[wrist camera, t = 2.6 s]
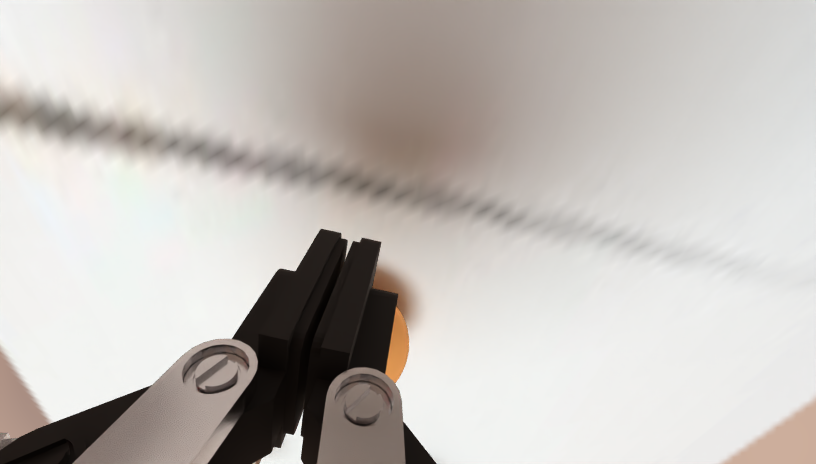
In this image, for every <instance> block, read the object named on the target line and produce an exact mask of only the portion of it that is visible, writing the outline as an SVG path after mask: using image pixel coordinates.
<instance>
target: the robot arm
mask: <svg viewBox="0 0 816 464" xmlns="http://www.w3.org/2000/svg"><path fill="white" fill-rule="evenodd" d="M347 242H348V241H347V240H346V239H341V233H338V232H334V231H329V230H325V229H321V230H320V231H319V233H318V234H317V236H316V238H315V239H314V241H313V243H312V244H311V246H310V248H309V249H308V251H307V253H306V255H305V256H304V258H303V260H302V261H301V263H300V265H299V266H298V268H297V270H296V271H290V270H286V269H279V270H278V271H277V272H276V273H275V275H274V276H273V278H272V279H271V281H270V282H269V284H268V285H267V287H266V288H265V290H264V291H263V293H262V294H261V296H260V297H259V299H258V300H257V302H256V303H255V305H254V306H253V308H252V309H251V311H250V312H249V314H248V315H247V317H246V318H245V320H244V321H243V323H242V324H241V326H240V327H239V329H238V330H237V332H236V333H235V335H234V336H233V338H232V339H215V340H211V341H207V342H204V343H202V344H199V345H197V346H195V347H193V348H191V349H190V350H189V351H188V352H186V353H185V354H184V355H182V356H181V357H180V358H179V359H178V360H177V361H176V362H175V363H174V364H173V365H172V366H171V367H170V368H169V369H168V370H167V371H166V372H165V373H164V374H163V375H162V376H161V377H160V378H159V379H158V380H157V381H156V382H155V383H154V384H153V385H151V386H149V387H146V388H143V389H141V390H138V391H135V392H133V393H130V394H127V395H125V396H122V397H120V398H117V399H114V400H112V401H109V402H106V403H104V404H101V405H99V406H96V407H93V408H91V409H88V410H85V411H83V412H80V413H77V414H75V415H72V416H70V417H67V418H64V419H62V420H59V421H56V422H54V423H51V424H49V425H46V426H43V427H41V428H38V429H36V430H34V431H32V432H30V433H28V434H25V435H23V436H21V437H19V438H13V439H12V438H10V436H9V434H8V433H0V464H255V463H256V461H258V460H259V459H261V458H263V457H265V456H266V455H268V454H270V453H271V452H272V449H273V447H278V448H281V445H282V443H283V440H284V437H285V435H286V433H287V434H292V435H294V433H295V431H296V429H297V426H298V423H299V420H300V418H301V415H302V412H303V419H302V428H301V436H302V437H303V445H302V454H301V460H302V462H303V464H436V462H435V461H434V460H433V459H432V457H431V456H430V455H429V453H428V452H427V451H426V450H425V448H424V447H423V446H422V445H421V443H420V442H419V441H418V440H417V438H416V437H415V436H414V434H413V433H412V432H411V431H410V429H409V428H408V427H407V426H406V424H405V423H404V422H403V413H402V400H401V396H400V391H399V389H398V388H397V386H396V384H395V383H394V381H393V380H391V379H390V378H389V377H388V376H387V375H386V374H385V373H386V367H387V361H388V354H389V348H390V342H391V336H392V330H393V323H394V317H395V311H396V305H397V298H398V294H396V293H391V292H387V291H382V290H377V289H373V288H372V286H373V281H374V276H375V271H376V266H377V261H378V256H379V252H380V247H381V242H379V241H374V240H370V239H365V238H362V239H361V241H360V243H359V242H355V241H353V243H352V245H351V248H350V250H349V252H348V255H347V257H346V260H345V256H346V250H347ZM303 409H304V410H303Z"/></svg>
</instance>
